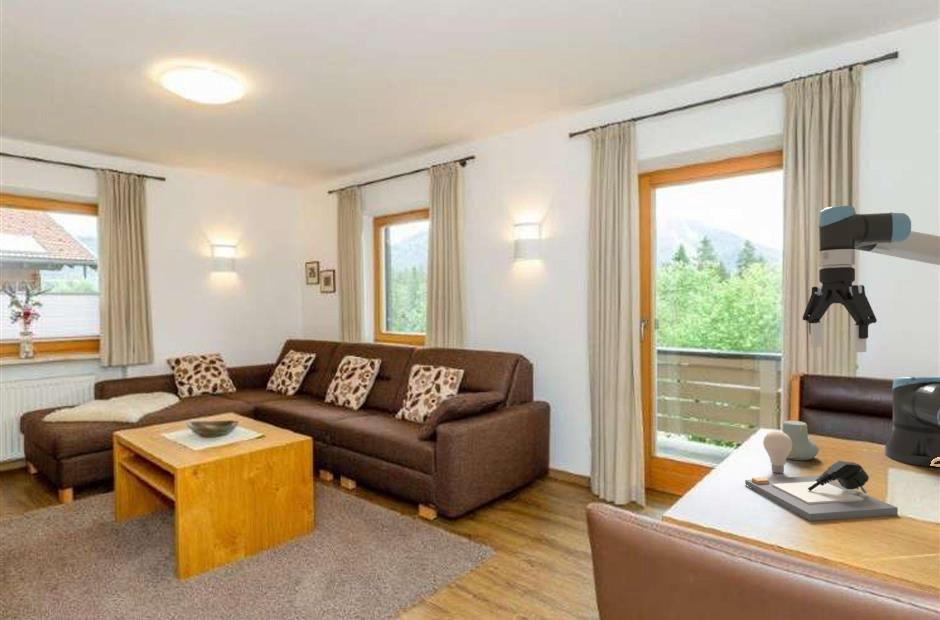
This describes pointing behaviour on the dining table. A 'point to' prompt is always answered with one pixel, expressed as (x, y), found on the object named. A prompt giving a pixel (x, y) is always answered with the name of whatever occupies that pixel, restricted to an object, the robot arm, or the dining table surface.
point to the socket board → (820, 498)
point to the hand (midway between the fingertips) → (836, 349)
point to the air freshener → (800, 441)
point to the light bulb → (777, 449)
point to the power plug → (844, 476)
